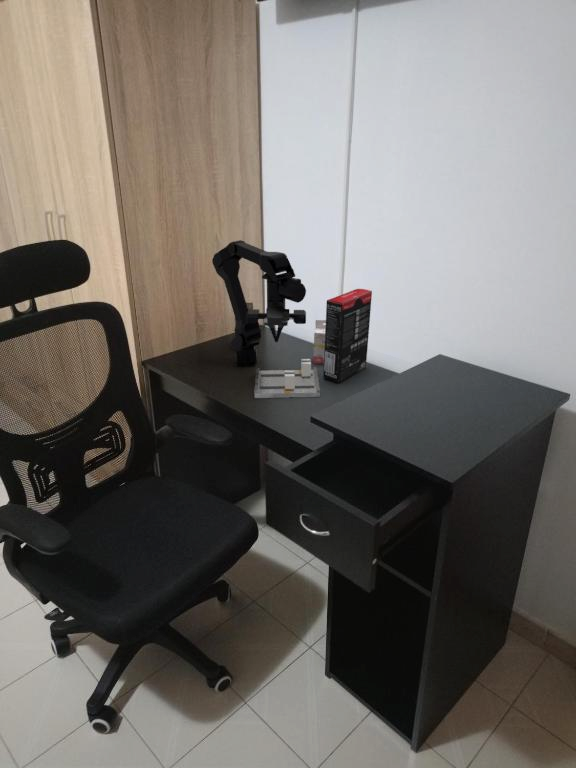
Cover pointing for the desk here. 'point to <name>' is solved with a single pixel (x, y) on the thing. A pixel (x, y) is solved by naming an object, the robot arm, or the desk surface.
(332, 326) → the graphics card box
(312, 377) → the console
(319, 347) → the ink cartridge box
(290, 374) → the fader
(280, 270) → the robot arm
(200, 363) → the desk surface
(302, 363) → the fader
